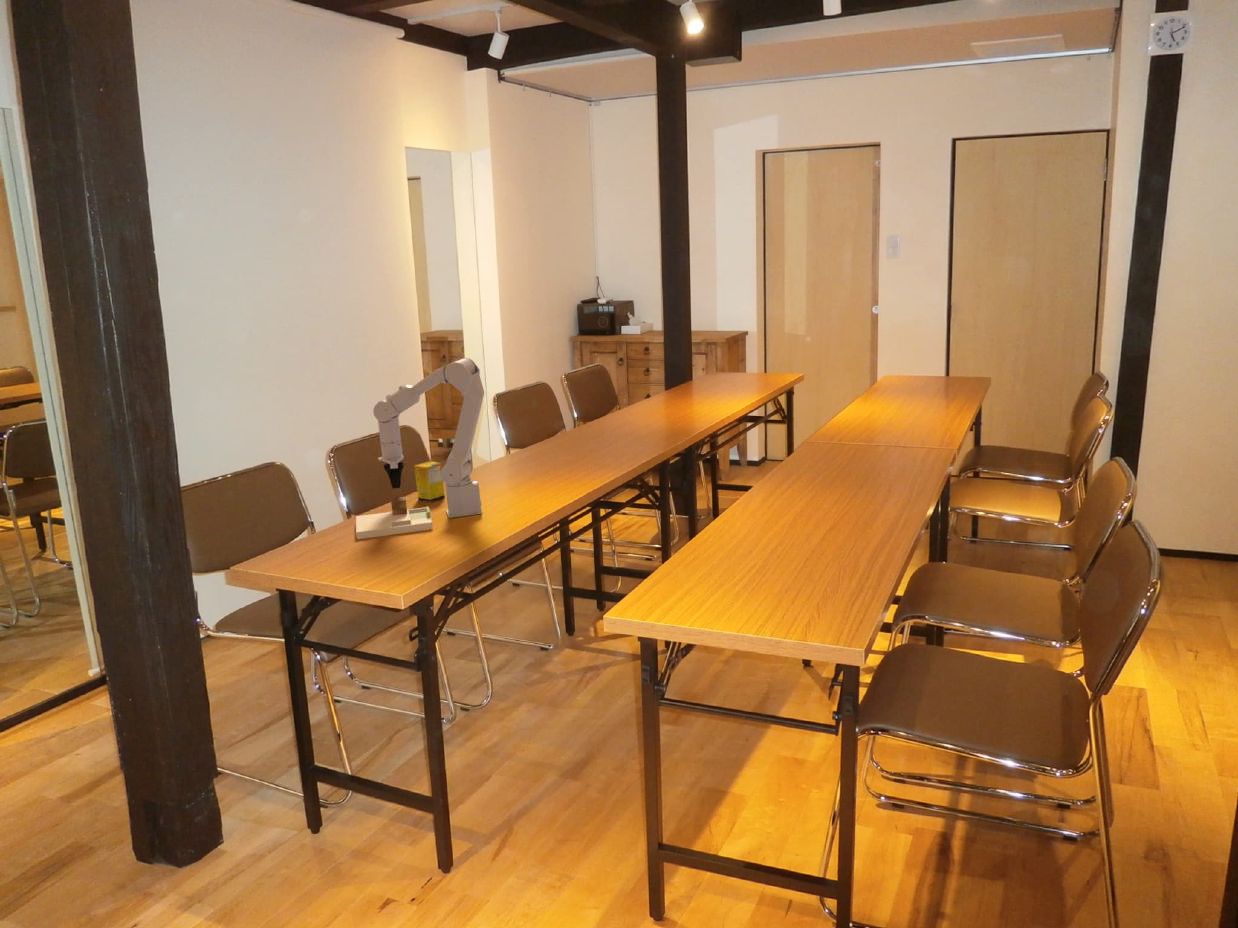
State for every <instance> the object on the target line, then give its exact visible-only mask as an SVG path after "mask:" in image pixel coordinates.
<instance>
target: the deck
mask: <svg viewBox="0 0 1238 928" xmlns="http://www.w3.org/2000/svg"><path fill="white" fill-rule="evenodd" d="M355 518H356V519H355V535H356V540H362V539H371V538H378V537H386V536H393V535H400V534H407V533H415V532H422V531H423V532H424V531H429V530H430V529H431V530H434V529H433V520H432V516H431V511H430V507H429V506H425V507H420V508H419V507H418V508H411V509H407V514H401V515H393V513H392V511H387V512H379V513H373V514H372V513H371V514H364V515H357V516H355Z"/></svg>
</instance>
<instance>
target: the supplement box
mask: <svg viewBox="0 0 1238 928" xmlns="http://www.w3.org/2000/svg"><path fill="white" fill-rule="evenodd" d="M413 468H414V476H415V483H416V492H417V500H418V501H421V500H422V502H428V503H431V502H435V501H437V500H440V499H443V498H445V497H446V496H445V495H446V494H445V486H444V481H443V480H442V477H441V470H442V463H441V462H436V461H426V462H421V463H419V464H415V465H414V466H413Z"/></svg>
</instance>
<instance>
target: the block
mask: <svg viewBox="0 0 1238 928" xmlns="http://www.w3.org/2000/svg"><path fill="white" fill-rule="evenodd" d="M390 503H391V512H392V513H393V515H401V514H407V510H408V508H407V499H406V496H398V497H391V498H390Z"/></svg>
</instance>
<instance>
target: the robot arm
mask: <svg viewBox="0 0 1238 928" xmlns="http://www.w3.org/2000/svg"><path fill="white" fill-rule="evenodd" d="M480 374H481V369H480V368H479V366H478V365H477V364H476V362H475V361H474V360H472V359H471V358H468V357H463V358H460V359H458V360H456V361H452V362H449V363H448V364H446V365H444V366H441V367H440V368H437V369H435V370H434V371H433V372H431V373H430V374H428V375H427V376H426V377H424V378H423V379H421V380H420V381H418V382H417V383H416V384H414V385H410V384H406V385H405V384H403V385H401V386H399V387H398V390H397V391H395V392H394V393H392V394H388V395H386V396H385V399H384V400H380V401H378V402H377V403H376V404H375V405H374V407H373V412H372V413H373V415H374V417H375V419H377V424H378V431H379V432H378V433H379V439H380V447H381V448H380V450H381V454H382V455H381V456H380V457H379V456H378V457H377V459H378V462H384V463H383V469H384V470H385V471H386V473H387V476H388V478H389V481H390V486H391V487H392V489H393V490H394V489H401V483H402V482H401V481H402V472H403V469H404V467H405V466H404V465H405V463H404V461H403V460H404V458H405V457H404V455H403V447H402V438H401V436H402V435H401V429H400V428H401V427H400V420H399V416H400V415H401V414H403V412H406V410H409V409H410V408H411V407H413V406H414V405H416V404H418V403H419V402H420V397H421V395H423V394H424V393H426V392H427V391H429V390H431V389H432V388H434V387H435V386H438V385H439V384H448V383H449V384H451V386H453V387H454V388H456V389H457V390H458V391H459V392H460V393H461V395H462V397H463V401H462V405H461V406H462V407H461V410H460V415H459V418H458V422H457V428H456V431H455V436H454V440H453V444H452V447H451V449H452V450H451V452H450V453H449V455H448V457H447V458H446V463H445V464H444V465H443V466H442V467H441V469H442V470H441V477H442V480H443V483H445V486H444V487H445V491H446V492H445V493H446V494H445V495H446V500H447V501H446V503H447V509H445V512H446V514H447V517H448V519H449V518H457V517H458V518H459V517H467V516H473V515H481V514H483V512H482V511H483V510H482V500H481V491H480V486H479V481H478V480H473V481H472V480H471V477H470V475H471V474H472V472H473V463H472V458H473V454H472V452H471V451H472V446H473V443H474V438H475V435H476V434H475V433H476V429H477V425H478V421H479V417H480V415H481V414H480V413H481V409H482V405H483V401H484V396H485V390H484V387H483V382H482V378H481V375H480Z"/></svg>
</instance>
